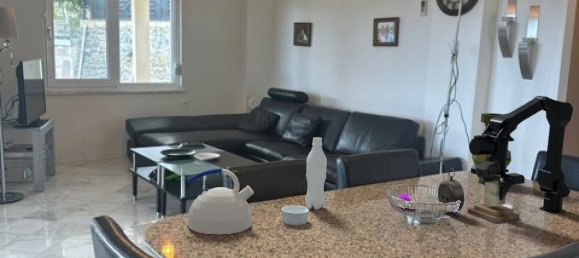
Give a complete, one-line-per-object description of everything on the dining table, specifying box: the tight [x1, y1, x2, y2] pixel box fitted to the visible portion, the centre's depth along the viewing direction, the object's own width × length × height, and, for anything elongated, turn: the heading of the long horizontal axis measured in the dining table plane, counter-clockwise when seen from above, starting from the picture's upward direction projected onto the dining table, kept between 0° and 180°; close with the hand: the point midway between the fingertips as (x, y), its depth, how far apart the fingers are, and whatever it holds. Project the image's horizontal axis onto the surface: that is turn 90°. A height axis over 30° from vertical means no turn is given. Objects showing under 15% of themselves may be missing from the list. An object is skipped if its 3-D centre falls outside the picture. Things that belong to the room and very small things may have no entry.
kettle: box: [186, 168, 255, 236], centre depth 169 cm, size 20×21×18 cm
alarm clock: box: [437, 167, 465, 218], centre depth 188 cm, size 11×5×16 cm, turn 14°
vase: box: [471, 112, 512, 185], centre depth 233 cm, size 16×16×30 cm
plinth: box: [467, 202, 521, 224], centre depth 188 cm, size 12×12×3 cm
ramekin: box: [281, 205, 310, 226], centre depth 175 cm, size 9×9×4 cm
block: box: [483, 181, 507, 205], centre depth 187 cm, size 5×5×7 cm
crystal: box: [398, 192, 413, 202], centre depth 195 cm, size 5×5×5 cm
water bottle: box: [304, 136, 328, 211], centre depth 189 cm, size 7×7×25 cm
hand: (494, 198), depth 187 cm, fingers closed on block, 5 cm apart
